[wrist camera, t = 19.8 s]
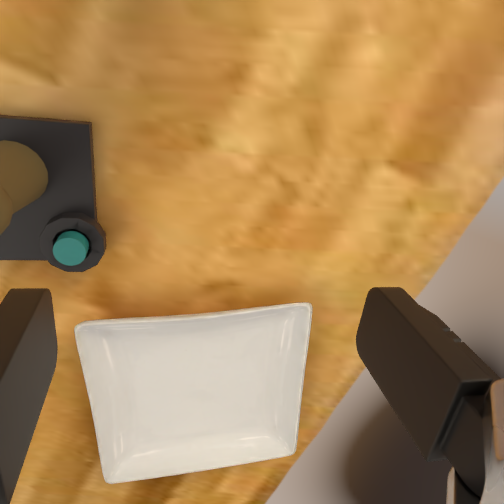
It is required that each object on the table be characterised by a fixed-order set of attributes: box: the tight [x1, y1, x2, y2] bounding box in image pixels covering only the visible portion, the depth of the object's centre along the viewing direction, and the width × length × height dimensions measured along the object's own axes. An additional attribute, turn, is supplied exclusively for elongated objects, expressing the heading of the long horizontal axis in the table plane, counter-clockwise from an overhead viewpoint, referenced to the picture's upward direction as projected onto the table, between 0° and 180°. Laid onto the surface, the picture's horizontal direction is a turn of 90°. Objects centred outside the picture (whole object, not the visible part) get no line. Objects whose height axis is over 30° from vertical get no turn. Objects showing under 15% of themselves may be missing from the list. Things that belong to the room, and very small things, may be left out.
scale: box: [0, 115, 106, 272], centre depth 39 cm, size 14×13×3 cm
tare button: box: [53, 231, 89, 266], centre depth 39 cm, size 3×3×2 cm
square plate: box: [74, 302, 312, 484], centre depth 53 cm, size 27×27×4 cm
